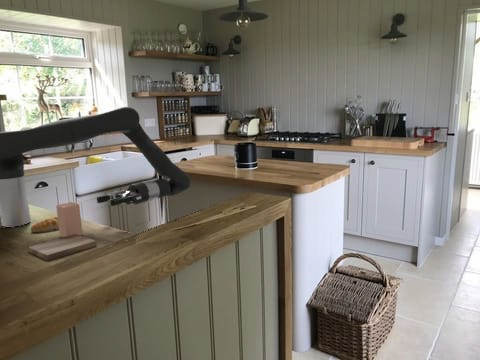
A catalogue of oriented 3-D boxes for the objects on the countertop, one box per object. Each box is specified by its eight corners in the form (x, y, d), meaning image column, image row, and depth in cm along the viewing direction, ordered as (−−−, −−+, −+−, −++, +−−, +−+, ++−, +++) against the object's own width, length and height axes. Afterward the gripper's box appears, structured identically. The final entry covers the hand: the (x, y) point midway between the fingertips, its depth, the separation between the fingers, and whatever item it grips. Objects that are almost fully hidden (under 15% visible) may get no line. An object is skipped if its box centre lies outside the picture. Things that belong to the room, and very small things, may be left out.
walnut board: (29, 251, 115) (28, 246, 115) (76, 238, 125) (75, 234, 125) (47, 260, 107) (46, 255, 107) (96, 245, 117) (95, 240, 117)
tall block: (60, 236, 129) (56, 205, 127) (75, 232, 133) (71, 202, 131) (67, 238, 126) (63, 207, 124) (82, 234, 130) (79, 204, 128)
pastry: (34, 235, 132) (32, 223, 132) (28, 231, 137) (27, 220, 137) (64, 228, 138) (62, 217, 138) (57, 225, 143) (56, 214, 143)
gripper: (131, 180, 153) (91, 188, 141) (154, 183, 143) (114, 192, 132) (133, 200, 154) (94, 209, 142) (156, 204, 145) (116, 215, 133)
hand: (104, 201), depth 137 cm, fingers open, 8 cm apart
